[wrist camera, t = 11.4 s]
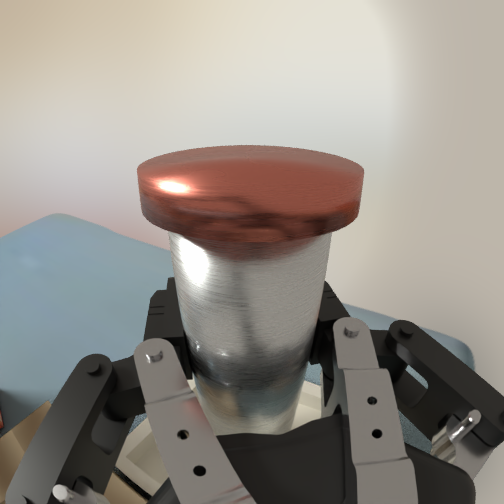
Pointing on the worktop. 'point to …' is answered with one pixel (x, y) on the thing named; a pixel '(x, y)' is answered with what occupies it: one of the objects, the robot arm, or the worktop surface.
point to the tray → (149, 459)
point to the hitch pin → (249, 268)
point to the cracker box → (0, 422)
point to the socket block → (16, 443)
